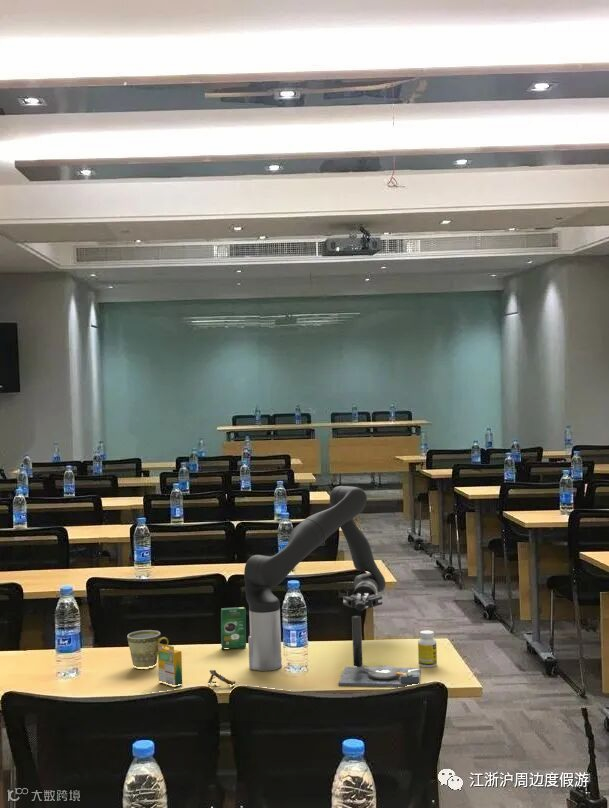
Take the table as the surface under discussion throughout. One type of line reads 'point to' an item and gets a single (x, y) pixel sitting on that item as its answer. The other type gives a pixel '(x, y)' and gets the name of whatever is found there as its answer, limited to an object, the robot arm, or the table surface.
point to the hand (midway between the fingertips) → (360, 607)
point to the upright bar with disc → (373, 672)
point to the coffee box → (233, 627)
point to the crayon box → (169, 664)
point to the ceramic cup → (144, 647)
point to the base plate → (362, 679)
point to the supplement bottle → (427, 649)
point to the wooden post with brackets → (219, 678)
